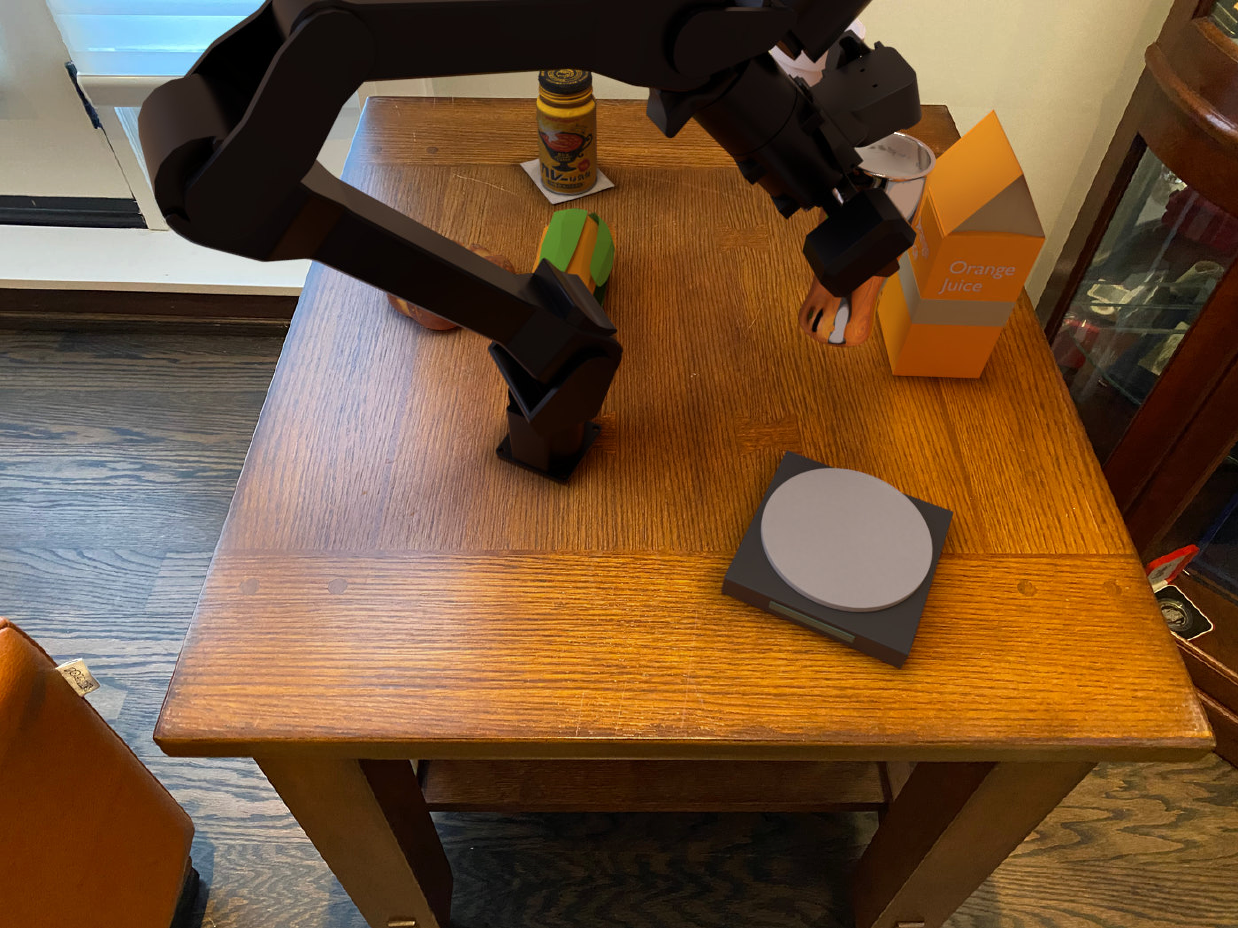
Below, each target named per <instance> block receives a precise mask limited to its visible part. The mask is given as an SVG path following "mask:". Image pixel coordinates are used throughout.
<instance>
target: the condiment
mask: <svg viewBox="0 0 1238 928" xmlns="http://www.w3.org/2000/svg"><path fill="white" fill-rule="evenodd" d="M537 81H538V93H539V94H538V96H537V99H536V101H535V105H536V107H535V109H536V115H535V116H536V117H535V121H536V125H537V146H538V158H536V159H533V160H530V161H529V160H528V161H524V162H521V163H519V166H521V168H522V169H523V170H524V171H525V172H526V173H527V174H528V176H529V177H530V178H531V180H532V181H533V182H534V184H536V187H538V189H539V190H540V191H541V193H543V195H544V196H545V197H546V199H547V200H548V202H550V204H552V205H554V204H558V203H562V202H567V201H570V200H574V199H578V198H582V197H584V196H587V195H590V194H591V195H592V194H595V193H597V192H600V191H602V190H605V189H609V188H613V187H615V184H614V183H613V182H612V181H611V180H610V179H609V178H608V177H607V176H606V175H605V174H604V173H603V172H602V171H601V169H599V167H598V136H597V135H598V131H597V129H598V127H597V125H598V124H597V103H598V102H597V100H596V97H595V95H594V94H593V93H594V87H593V73H592V72H588V71H580V70H573V69H567V70H551V71H538V75H537Z"/></svg>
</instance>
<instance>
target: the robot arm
mask: <svg viewBox="0 0 1238 928" xmlns="http://www.w3.org/2000/svg"><path fill="white" fill-rule="evenodd" d="M872 1H873V0H264V1H263V3H261V5H260V6H259V8H257V9H256V10H255V11H254V12H252V13H251V14H249V15H248V16H246V17H245V18H244V19H242V20H241V21H239V22H238V23H237V24H235V25H233V26H232V27H231V28H229V29H228V30H227V31H225V32H224V33H222V34H221V35H220V36H218V37H216V38H215V39H214V40H213V41H212V42H211V43H210V44H209V45H208V46H207V47H206V49H205V50H204V51H203V52H202V53H201V55H200V56H199V57H198V59H197V60H196V61H195V62H194V63H193V65H192V66H191V67H190V68H189V69H188V70H187V72H186V73H185V75H184V76H183V77H178V78H173V79H170V80H168V81H166V82H165V83H163V84H161V85H159V86H157V87H155V88H154V89H153V90H152V91H151V92H150V94H149V95H148V96H147V97H146V98H145V99H144V101H142V103H141V107H140V111H139V113H138V116H137V132H138V133H137V135H138V140H139V143H140V146H141V147H140V148H141V151H142V154H143V158H144V162H145V163H144V164H145V166H146V170H147V174H148V178H149V182H150V186H151V190H152V194H153V197H154V201H155V203H156V205H157V207H158V209H159V212H160V213H161V216H162V218H163V219H164V221H165V223H166V225H167V226H168V227H169V228H170V229H171V230H172V231H173V232H174V233H175V234H176V235H178V236H179V237H181V238H183V239H185V240H186V241H188V242H189V243H192V244H194V245H196V246H200V247H203V248H207V249H209V250H214V251H218V252H222V253H225V254H228V255H229V254H230V255H232V256H237V257H240V258H241V257H242V258H245V259H248V260H253V261H257V262H260V263H270V262H271V263H272V262H274V263H275V262H286V261H298V260H300V261H301V260H307V261H308V260H309V261H312V262H316V263H319V264H320V265H323V266H325V267H328V268H330V269H332V270H333V271H337V272H338V273H341V274H343V275H345V276H347V277H350V278H352V279H355V280H357V281H359V282H361V283H363V284H365V285H368V286H369V287H372V288H374V289H376V290H378V291H381V292H383V293H385V294H386V293H387V294H390V295H392V296H394V297H396V298H398V299H401V300H403V301H405V302H407V303H410V304H412V305H414V306H416V307H418V308H421V309H423V310H425V311H427V312H429V313H432V314H434V315H436V316H438V317H441V318H443V319H445V320H447V321H449V322H452V323H454V324H456V325H458V326H457V327H461V328H463V329H464V330H467V331H469V332H472V333H474V334H475V335H479V336H481V337H483V338H485V339H487V340H489V341H491V342H490V344H488V346H487V351H488V353H489V355H490V357H491V358H492V360H493V362H494V364H495V365H496V367H497V369H498V370H499V373H500V374H501V376H502V378H503V380H504V381H505V383H506V385H507V398H508V399H507V400H508V405H507V407H506V408H505V410H506V411H505V412H506V418H507V426H508V433H507V434H506V435H505V437H504V438H503V439H502V441H501V442H500V443H499V444H498V446H497V447H496V448H495V456H496V457H497V458H498V459H500V460H502V461H505V462H507V463H510V464H512V465H514V466H517V467H519V468H522V469H523V470H526V471H529V472H532V473H534V474H536V475H538V476H541V477H543V478H545V479H548V480H550V481H553V482H555V483H558V484H560V485H566V484H567V483H569V482H570V480H571V479H572V477H574V476H573V475H574V474H575V473H576V471H577V470H578V468H579V467H580V466H581V464H582V463H583V461H584V459H585V458H586V456H587V455H588V453H589V452H590V451H591V449H592V448H593V446H594V445H595V444H596V442H597V441H598V439H599V438H600V436H601V435H602V432H603V427H602V426H601V424H600V423H597V422H594V421H592V420H595V419H596V418H597V417H598V416H599V413H600V411H601V409H602V406H603V404H604V402H605V399H606V397H607V394H608V392H609V390H610V388H611V385H612V383H613V380H614V378H615V375H616V372H617V371H618V369H619V367H620V365H621V363H622V358H623V353H624V348H623V346H622V344H621V342H620V341H619V340H618V339H617V337H616V335H615V334H617V332H618V329H617V327H616V326H615V324H614V323H613V321H612V320H611V319H610V318H609V316H608V315H607V313H606V311H605V310H604V309H603V307H602V308H601V306H600V305H599V303H598V302H597V301H596V299H595V298H594V296H593V295H592V294H591V292H590V291H589V289H588V288H587V287H586V285H585V284H584V282H583V281H582V279H581V278H580V277H579V275H577V274H568V273H565V272H563V271H560V270H559V269H558V268H556V267H555V266H554V265H553V264H552V263H551V262H550V261H549V260H548V259H546V258H543V259H542V260H541V261H540V263H539V265H538V266H537V268H536V270H535V271H534V273H532V272H526V273H520V274H517V273H516V274H514V273H511V272H509V271H507V270H505V269H503V268H501V267H500V266H498V265H496V264H494V263H492V262H490V261H489V260H487V259H485V258H483V257H481V256H479V255H478V254H476V253H474V252H472V251H470V250H468V249H467V248H465V247H463V246H461V245H459V244H457V243H456V242H454V241H452V240H453V239H450V238H449V237H447V236H444V235H443V234H441V233H439V232H437V231H435V230H434V229H431V228H430V227H428V226H427V225H424V224H423V223H421V222H419V221H417V220H415V219H413V218H412V217H410V216H408V215H406V214H404V213H402V212H400V211H399V210H397V209H395V208H394V207H391V206H389V205H388V204H387V203H384V202H383V201H380V200H378V199H376V198H375V197H373V196H371V195H369V194H368V193H365V192H364V191H362V190H360V189H358V188H356V187H355V186H353V185H352V184H349V183H347V182H346V181H344V180H342V179H340V178H338V177H337V176H335V175H334V174H333V173H332V172H330V171H329V170H328V169H327V168H326V167H325V166H324V165H323V164H322V163H321V162H320V161H319V160H318V157H319V155H320V153H321V151H322V149H323V148H324V145H325V143H326V141H327V139H328V137H329V135H330V133H331V132H332V129H333V127H334V125H335V123H336V120H337V119H338V117H339V115H340V113H341V112H342V109H343V107H344V106H345V104H347V102H348V101H349V100H350V99H351V98H352V96H353V95H354V94H356V92H357V91H358V90H359V89H360V88H361V86H362V85H363V84H364V83H371V82H372V83H373V82H390V81H403V80H420V79H436V78H437V79H438V78H439V79H440V78H453V77H469V76H485V75H486V76H487V75H501V74H503V75H504V74H519V73H533V72H539V71H551V70H567V69H573V70H580V71H588V72H591V73H592V74H596V75H599V76H602V77H605V78H608V79H611V80H614V81H616V82H620V83H623V84H626V85H629V86H632V87H636V88H637V87H638V88H645V89H648V94H649V95H648V97H647V103H646V110H645V111H646V112H645V115H646V117H647V118H648V119H649V120H650V121H651V122H652V123H653V125H654V126H656V128H658V130H659V131H660V132H661V133H662V134H663V135H664V136H665V137H666V138H667V139H673V138H675V137H676V136H677V135H678V134H679V133H680V131H681V130H682V129H683V128H684V127H685V126H686V125H687V123H688V122H689V121H690V120H691V119H692V120H694V121H695V122H696V123H697V124H698V125H699V126H700V127H701V128H702V129H703V130H704V131H705V132H706V133H707V134H708V135H709V136H710V137H711V138H712V139H713V140H714V141H715V142H716V143H717V144H718V145H719V146H720V147H721V148H722V149H723V150H724V151H725V152H726V153H727V154H728V155H729V156H730V157H731V158H732V159H733V160H734V162H735V164H736V166H737V168H738V171H740V173H741V175H742V177H743V178H744V179H745V180H746V181H747V182H748V184H750V185H751V187H753V186H754V185H755V184H756V183H757V184H758V185H759V186H760V187H761V188H762V189H763V190H764V191H765V192H766V193H767V194H768V195H769V198H770V199H771V201H772V203H773V205H774V206H775V208H776V210H777V212H778V213H779V214H780V215H782V217H783V218H784V219H785V220H788V219H790V218H791V217H792V216H793V215H794V214H796V213H797V212H798V211H799V210H800V209H802V210H803V212H805V213H809V212H810V211H812V209H814V208H815V207H816V208H817V209H820V208H821V206H822V208H823V209H824V211H825V213H826V214H827V216H828V218H827V219H826V220H824V221H823V222H822V223H821V224H820V225H818V224H817V226H816V227H815V228H813V229H812V230H811V231H810V232H809V233H807V234H806V235H805V239H804V243H803V246H802V254H803V256H804V258H805V260H806V261H807V264H808V265H809V266H810V269H811V270H812V271H813V275H814V274H815V275H816V277H817V279H818V281H819V282H820V284H821V285H822V286H823V287H824V288H825V289H826V290H827V291H828V292H829V293H831V294H832V295H833V296H834V297H835V298H845V297H847V296H848V295H849V294H851V293H852V292H853V291H854V290H856V289H857V288H858V287H860V286H861V285H862V284H864V283H865V282H866V281H867V280H869V279H870V278H871V277H873V276H877V277H886V278H888V277H890V276H892V275H893V274H894V273H896V272H897V271H898V270H899V269H900V265H899V263H898V260H897V257H899V256H900V255H901V254H903V253H904V252H905V251H906V250H908V249H909V248H910V247H912V246H913V244H914V241H915V238H916V235H917V233H916V232H915V231H914V229H913V228H912V226H911V225H910V224H909V222H908V221H907V219H906V218H905V217H904V215H903V214H902V212H901V211H900V210H899V208H898V207H897V206H896V205H895V203H894V202H893V201H892V199H891V198H890V197H889V196H888V194H887V193H886V192H885V191H884V190H883V188H882V187H879V188H869V189H862V190H861V191H860V192H858V191H857V189H856V188H855V187H854V185H853V184H852V182H851V181H850V179H849V178H848V176H847V175H846V174H849V173H850V172H851V171H852V170H854V169H855V168H856V167H857V166H858V165H860V164H861V163H862V162H863V159H862V158H861V156H860V155H859V154H858V152H857V151H856V150H855V149H854V147H856V148H862V147H866V146H869V145H871V144H873V143H875V142H877V141H879V140H881V139H883V138H885V137H887V136H889V135H891V134H893V133H895V132H901V131H902V130H904V131H907V130H909V129H911V128H913V127H915V126H916V125H917V124H919V123H920V121H921V120H922V118H923V113H922V104H921V98H920V91H919V83H918V75H917V72H916V70H915V69H914V68H913V67H912V66H911V65H910V63H909V62H908V61H907V60H906V59H905V58H904V56H903V55H901V53H900V52H899V51H898V50H897V49H896V48H895V47H894V46H893V47H892V46H888V45H887V46H885V45H884V44H883V42H881V41H880V40H878V41H875V42H873V47H874V48H871V47H869V45H867V43H866V42H865V40H864V41H863V40H862V39H861V38H860V37H859V36H858V35H857V34H856V33H855V32H854V31H853V30H851V29H849V30H847V31H845V30H846V29H847V28H848V27H849V26H850V25H851V24H852V23H853V22H854V20H855V19H856V18H857V19H858V17H859V16H860V15H861V14H862V13H863V12H864V11H865V9H867V7H869V5H870V4H871V3H872ZM775 45H776V46H777V47H778V48H779V49H780V50H781V51H782V52H783V53H784V54H785V55H787V56H788V57H789V58H790V59H792V60H794V61H795V60H796V59H797V58H798V57H799V56H800V55H801V54H802V52H801V51H802V50H803V52H804V54H805V55H806V56H807V57H808V58H809V59H810V60H811V61H812V62H813V63H814V64H815V63H816V62H817V61H818V60H819V59H820V58H821V57H822V56H823V55H824V54H825V53H826V51H827V50H828V49H829V50H828V53H827V57H826V61H825V69H823V70H821V71H822V76H823V77H822V78H821V79H820V81H819V82H818V83H816V84H815V85H813V86H811V87H810V85H809V84H808V83H807V82H806V80H805V79H804V78H803V77H799V76H798V75H797V76H796V77H795V78H793V77H792V76H791V75H790V74H789V75H788V74H787V73H786V72H785V71H784V69H783V68H782V67H781V66H780V65H779V63H778V62H777V61H776V60H775V59H774V57H773V56H772V55H771V49H773V48H774V47H775ZM769 51H770V52H769ZM835 188H836V189H837V191H838V193H839V194H840V196H841V197H842V199H843V200H844V202H845V204H844V205H842V203H841V201H840V200H839V198H838V197H837V195H836V194H835V192H834V191H833V190H834V189H835ZM387 294H386V295H387Z"/></svg>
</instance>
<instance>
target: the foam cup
mask: <svg viewBox="0 0 1238 928" xmlns="http://www.w3.org/2000/svg"><path fill="white" fill-rule="evenodd" d="M849 29H851V30H853V31H854V32H855V33H856V34H857V35H858V36H859V37H860V38H861V39H862V40H863V41H864V42H865V37H866V33H867V32H866V31H867V28H866V27H865V25H864V24H863V23H862V22H861V20H859V18H858V17H857V18H856V19H855V20H854V22H853V23H852V24H851V25H850V26H849V27H848V28H847V29H846V30H845V31H847V30H849ZM828 50H829V49H828ZM828 50H827V51H826V53H825V54H824V55H823V56H822V57H821V58H820V59H819V60H818V61H817V62H816V63H815V64H814V63H813V62H812V61H811V60H810V59H809V58H808V57H807V56H806V55H805V54H804V52H803V50H802V51H801V52H802V54H801V55H800V56H799V57H798V58H797V59H796V60H795V61H794V60H792V59H790V58H789V57H788V56H787V55H785V54H784V53H783V52H782V51H781V50H780V49H779V48H778V47H777V46H776V45H775V47H774V48H773V49H771V50H770V54H771V55H772V56H773V57H774V59H775V60H776V61H777V62H778V63H779V65H780V66H781V67H782V68H783V69H784V71H785V72H786V73H787V74H788V75H789V74H790V75H791V76H792V77H793V78H795V77H796V76H797V75H798V76H799V77H803V78H804V79H805V80H806V82H807V83H808V84H809V85H810V87H811V86H813V85H815V84H816V83H818V82H819V81H820V79H821V78H822V77H823V76H822V71H821V70H823V69H825V61H826V57H827V53H828Z"/></svg>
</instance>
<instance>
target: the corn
mask: <svg viewBox="0 0 1238 928" xmlns="http://www.w3.org/2000/svg"><path fill="white" fill-rule="evenodd" d="M537 249H538V250H537V252H536V257H535V260H534V264H533V267H532V270H531V273H534V271H535V270H536V268H537V266H538V265H539V263H540V261H541V260H542V259H543V258H546V259H548V260H549V261H550V262H551V263H552V264H553V265H554V266H555V267H556V268H558V269H559V270H560V271H563V272H565V273H568V274H577V275H579V277H580V278H581V279H582V281H583V282H584V284H585V285H586V287H587V288H588V289H589V291H590V292H591V294H592V295H593V296H594V298H595V299H596V301H597V302H598V303H599V305H600V306H601V308H602V309H603V306H604V303H605V300H606V299H605V298H606V292H607V288H608V282H609V279H610V278H609V277H610V273H611V271H612V269H613V266H614V258H615V253H616V246H615V242H614V239H613V236H612V233H611V230H610V227H609V225H608V224H607V222H605V221H604V220H603V218H601V216H600V215H599V214H597V213H596V212H595V211H594V212H591V213H590V214H589V213H588V210H587V209H582V208H577V207H574V208H567V209H561V210H557V211H554V212H553V214H552V217H551V219H550V222H549V224H548V225H546V226H545V227H544V228H543V232H542V235H541V237H540V243H539V245H538V248H537Z"/></svg>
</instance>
